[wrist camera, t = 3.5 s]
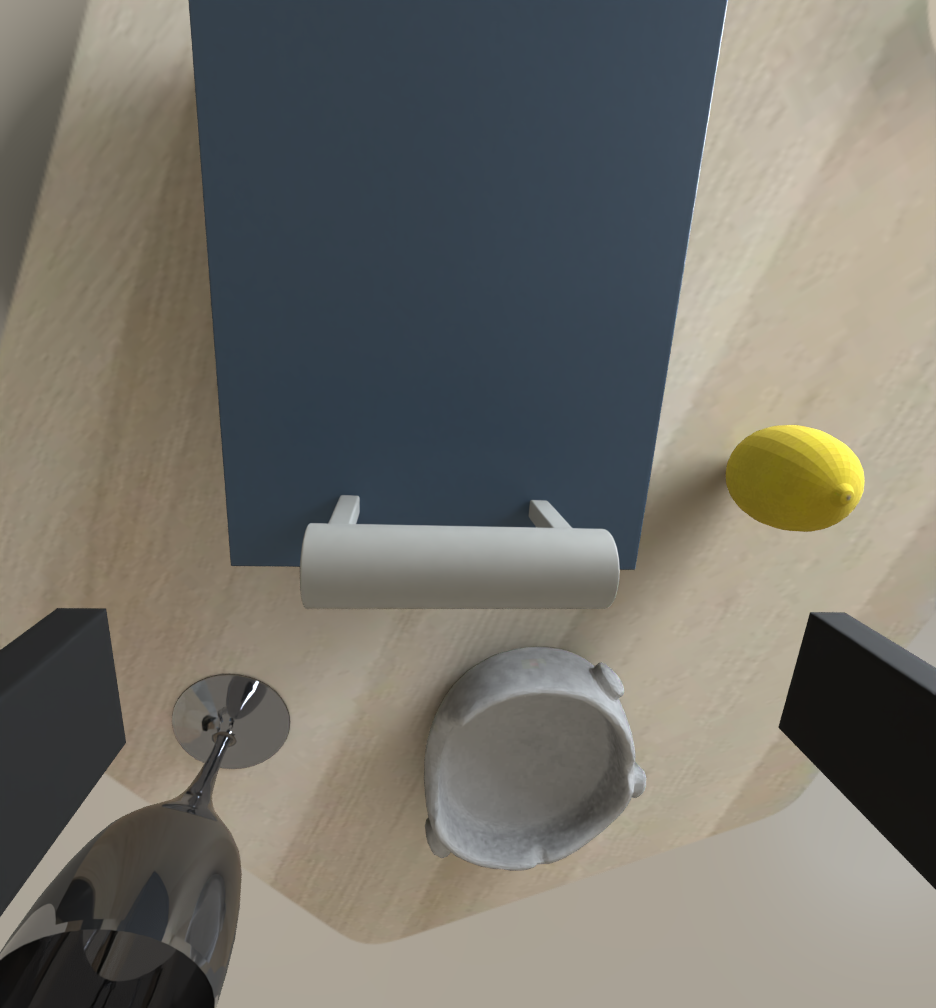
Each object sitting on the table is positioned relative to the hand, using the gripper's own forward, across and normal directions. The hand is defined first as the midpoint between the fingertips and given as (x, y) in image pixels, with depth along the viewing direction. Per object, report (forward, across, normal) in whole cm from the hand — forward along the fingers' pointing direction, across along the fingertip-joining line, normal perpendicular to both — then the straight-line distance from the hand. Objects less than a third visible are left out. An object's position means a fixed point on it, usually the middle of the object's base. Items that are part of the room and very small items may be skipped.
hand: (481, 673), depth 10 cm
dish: (+21, +7, -19) cm, 29 cm away
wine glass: (+21, -12, -18) cm, 30 cm away
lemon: (+21, +19, 0) cm, 28 cm away
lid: (+11, 0, +8) cm, 13 cm away
